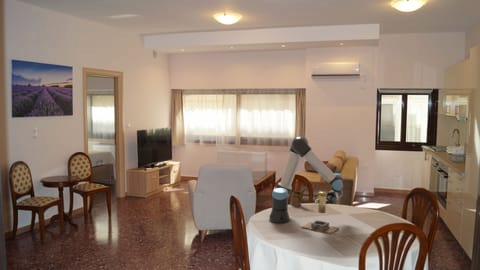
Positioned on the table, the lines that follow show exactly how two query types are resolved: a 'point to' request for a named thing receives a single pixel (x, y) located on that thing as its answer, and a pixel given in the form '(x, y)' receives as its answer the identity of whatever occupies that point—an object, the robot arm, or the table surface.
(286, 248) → the table surface
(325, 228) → the wooden board with frame
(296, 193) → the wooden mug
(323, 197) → the brass fitting
